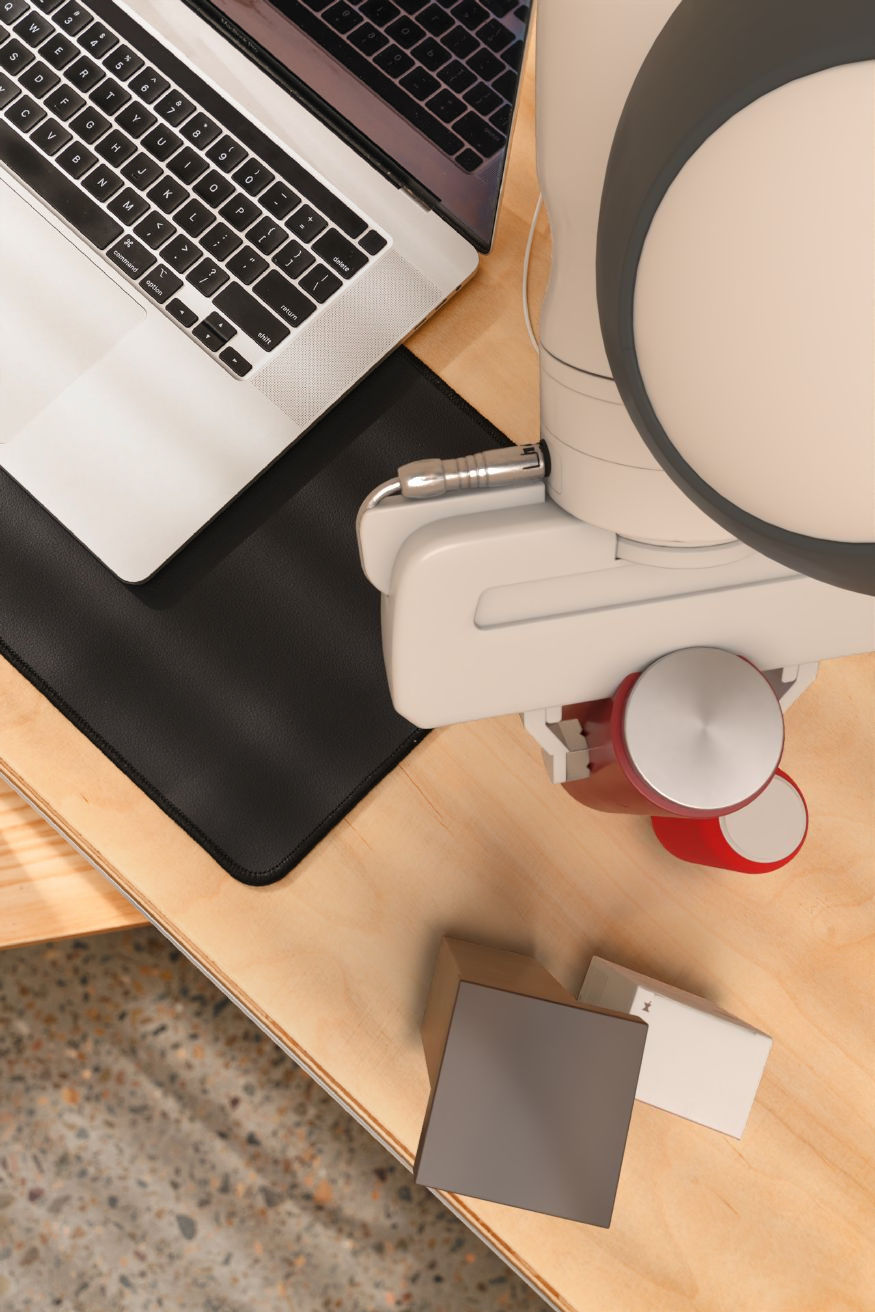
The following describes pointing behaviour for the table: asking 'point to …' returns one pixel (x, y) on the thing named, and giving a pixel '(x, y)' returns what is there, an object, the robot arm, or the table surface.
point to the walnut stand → (524, 1087)
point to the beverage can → (743, 832)
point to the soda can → (681, 738)
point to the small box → (685, 1048)
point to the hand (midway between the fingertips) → (657, 754)
